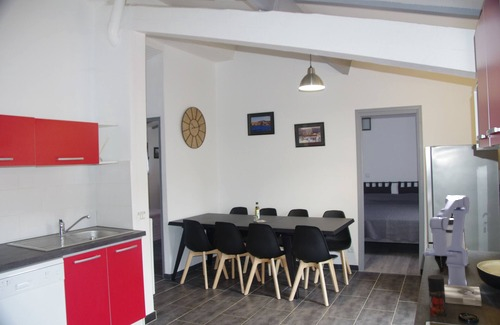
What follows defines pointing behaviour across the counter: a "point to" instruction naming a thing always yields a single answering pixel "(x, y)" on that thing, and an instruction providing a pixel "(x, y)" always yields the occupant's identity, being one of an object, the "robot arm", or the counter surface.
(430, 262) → the counter surface
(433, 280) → the spice jar
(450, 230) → the coffee press
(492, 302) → the counter surface
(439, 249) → the robot arm
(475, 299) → the block
